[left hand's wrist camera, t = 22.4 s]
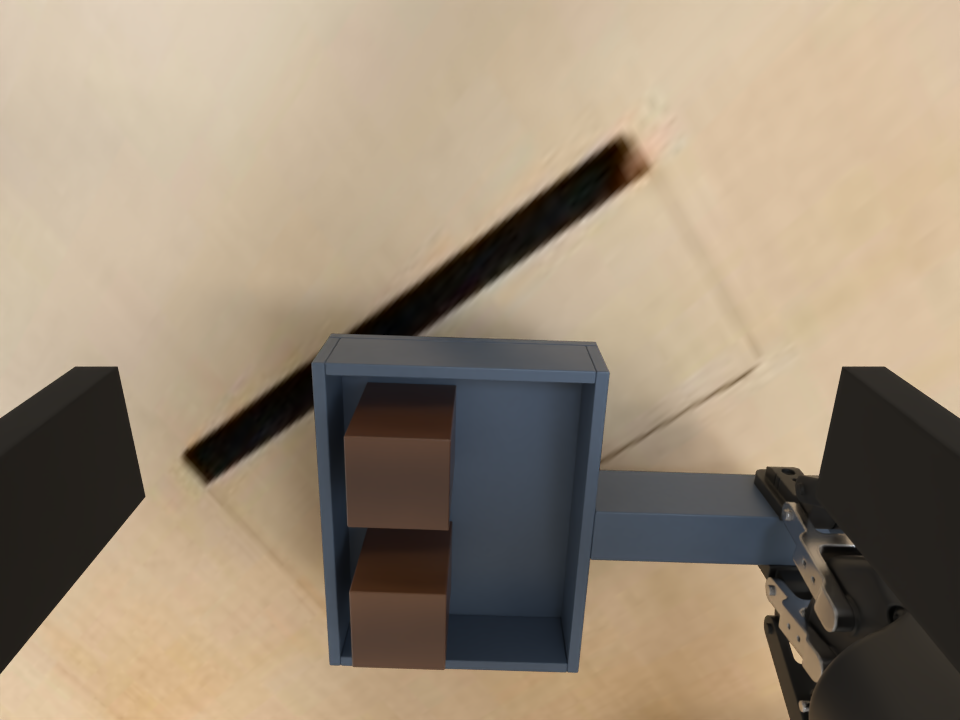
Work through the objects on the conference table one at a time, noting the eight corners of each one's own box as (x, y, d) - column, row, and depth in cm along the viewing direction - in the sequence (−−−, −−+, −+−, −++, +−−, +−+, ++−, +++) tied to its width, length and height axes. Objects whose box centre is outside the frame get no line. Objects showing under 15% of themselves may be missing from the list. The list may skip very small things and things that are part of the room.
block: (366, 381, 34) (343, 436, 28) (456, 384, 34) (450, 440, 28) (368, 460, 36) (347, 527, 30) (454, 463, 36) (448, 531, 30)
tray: (344, 611, 40) (329, 665, 36) (330, 333, 34) (310, 362, 30) (773, 624, 40) (804, 680, 36) (836, 349, 34) (881, 380, 30)
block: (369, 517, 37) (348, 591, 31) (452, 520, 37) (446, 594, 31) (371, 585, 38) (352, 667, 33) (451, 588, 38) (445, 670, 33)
